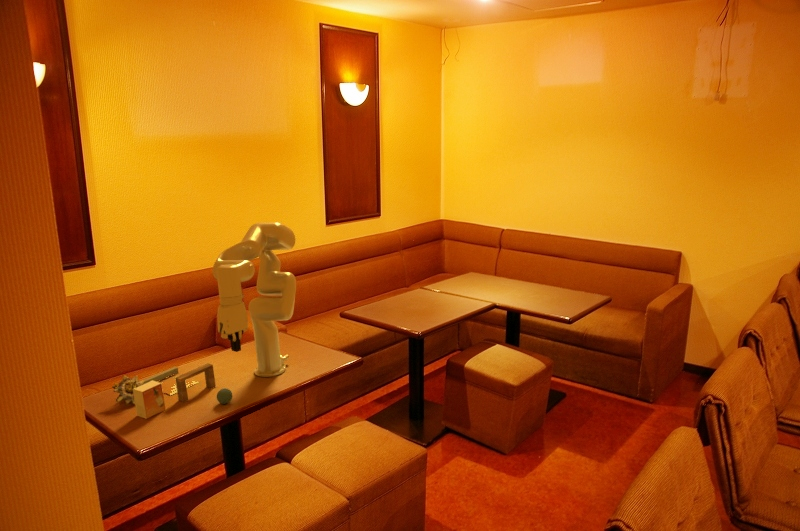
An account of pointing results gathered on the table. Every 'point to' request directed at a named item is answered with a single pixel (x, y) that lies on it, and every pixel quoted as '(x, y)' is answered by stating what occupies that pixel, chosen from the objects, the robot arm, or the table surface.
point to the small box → (149, 399)
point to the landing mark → (186, 387)
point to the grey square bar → (162, 375)
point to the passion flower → (127, 389)
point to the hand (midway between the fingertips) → (236, 350)
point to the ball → (224, 396)
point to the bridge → (181, 379)
